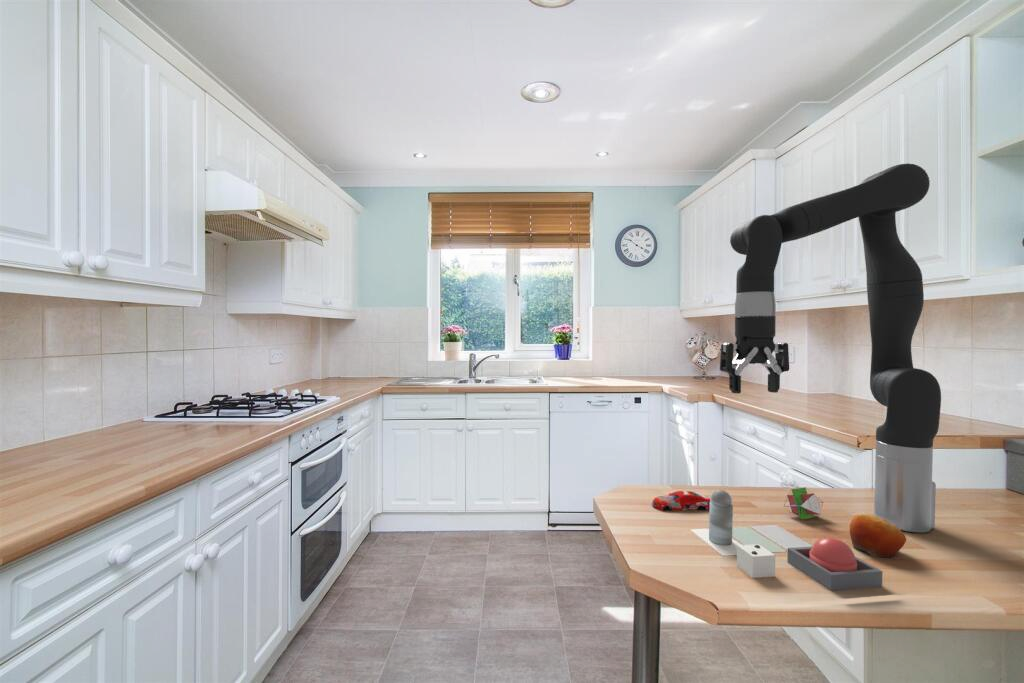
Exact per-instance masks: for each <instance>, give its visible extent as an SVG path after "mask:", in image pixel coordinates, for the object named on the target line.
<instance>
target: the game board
mask: <svg viewBox="0 0 1024 683" xmlns="http://www.w3.org/2000/svg"><path fill="white" fill-rule="evenodd" d="M690 531H691V532H692V533H693V534H695V535H696V536H697V537H699V539H701V540H702V541H703V542H705V543H706V544H707V545H709V546H710V547H711V548H713V549H714V550H715V551H716V552H718V553H719V554H720V555H721V556H723V557H725V556H737V545H751V544H759V545H761V546H762V547H764V548H765V549H767V550H768V551H770V552H771V553H773V554H775V553H786V552H787V553H788V548H797V547H812V546H813V544H810V543H808V542H806V541H805V540H803V539H801V538H799V537H798V536H796V535H795V534H793V533H791V532H789V531H787V530H785V529H784V528H782V527H780V526H779V525H777V524H771V525H770V524H769V525H766V524H765V525H752V526H732V544H731V545H728V546H724V545H718V544H715V543H712V542H711V541H710V540H709V528H695V529H693V528H692V529H690Z"/></svg>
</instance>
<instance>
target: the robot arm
mask: <svg viewBox="0 0 1024 683" xmlns="http://www.w3.org/2000/svg"><path fill="white" fill-rule="evenodd" d="M930 185H931V184H930V177H929V175H928V172H926V169H924V168H923V167H922V166H920V165H917V164H914V163H901V164H895V165H893V166H891V167H888V168H885V169H883V170H881V171H879V172H877V173H875V174H872V175H871V176H868V177H867V178H864V179H863V180H862V181H861V182H860V183H859V184H857V185H854V186H851V187H850V188H846V189H844V190H839V191H835V192H832V193H829V194H826V195H823V196H819V197H816V198H813V199H809V200H807V201H803V202H801V203H797V204H794V205H792V206H791V205H790V206H788V207H786V208H783V209H782V210H779V211H777V212H775V213H773V214H763V215H757V216H755V217H753V218H751V219H748V220H747V221H744V222H742V223H740V224H739V225H737V226H735V228H734V229H733V230H732V232H731V234H730V240H729V243H730V246H731V248H732V249H733V250H734V251H735V252H736V253H738V254H740V255H744V256H745V262H744V263H743V264H742V265H741V266H740V267H739V268H737V271H736V280H735V281H736V286H735V289H736V290H735V291H736V295H735V301H734V337H735V340H736V341H735V343H732V342H722V343H721V345H720V362H719V371H720V372H724V373H726V374H728V376H729V378H728V382H729V384H728V385H729V386H728V387H729V390H730V391H731V393H732V394H741V392H742V375H741V373H742V371H743V370H744V369H745V368H746V367H748V365H750V364H752V365H754V364H761V365H762V366H763V367H764V368H765V370H766V371H767V372H768V374H767V391H768V392H769V393H773V394H774V393H778V392H779V390H780V387H781V386H780V385H781V383H780V382H781V380H780V379H781V374H782V373H784V372H788V371H789V370H790V355H789V354H790V352H789V344H788V342H776V343H775V342H774V338H775V337H776V324H777V323H776V321H777V320H776V318H777V317H776V314H777V312H776V298H775V297H776V296H775V270H776V267H777V265H778V260H779V257H780V252H781V248H782V244H784V243H787V242H792V241H797V240H801V239H803V238H807V237H809V236H812V235H815V234H817V233H821V232H824V231H826V230H829V229H831V228H834V227H836V226H839V225H841V224H843V223H846V222H849V221H851V220H854V219H856V218H858V223H859V226H860V231H861V236H862V243H863V253H864V262H865V269H866V292H867V294H866V295H867V296H866V297H867V306H868V313H869V314H868V315H869V329H870V330H869V331H870V338H871V354H870V355H871V357H870V375H869V387H870V392H871V395H872V396H873V398H874V399H875V401H877V403H878V404H880V405H882V406H884V407H886V416H885V420H884V422H883V423H882V424H881V425H879V426H877V427H876V429H875V459H874V460H875V461H874V462H875V463H874V464H875V466H874V502H873V503H874V504H873V506H874V508H873V515H875V516H877V517H879V518H882V519H884V520H886V521H888V522H890V523H892V524H894V525H896V526H897V527H898V528H899V529H900V530H901V531H903V532H904V531H905V532H909V533H910V532H912V533H922V534H923V533H928V532H931V530H932V529H935V527H936V492H937V490H936V488H937V484H936V482H934V481H933V454H934V453H933V452H934V439H935V437H936V436H937V434H938V432H939V427H940V417H941V407H942V392H941V391H942V390H941V385H940V383H939V380H938V379H937V378H936V376H934V375H933V374H932V373H930V372H929V371H927V370H924V369H921V368H916V367H914V363H913V356H912V341H913V336H914V333H915V330H916V328H917V326H918V324H919V320H920V318H921V315H922V311H923V307H924V298H925V297H924V283H923V282H924V281H923V273H922V270H921V268H920V266H919V264H918V263H917V261H916V260H915V259H914V257H913V256H912V255H911V254H910V253H909V251H908V250H907V248H905V246H904V245H903V243H902V241H901V240H900V238H899V235H898V230H897V224H896V223H897V222H896V213H897V212H900V211H902V210H906V209H909V208H911V207H913V206H914V205H917V204H918V203H920V202H921V201H922V200H923V199H924V198H925V197H926V195H927V194H928V192H929V189H930ZM735 352H736V353H737V354H736V355H735V357H734V353H735ZM773 353H774V354H773Z"/></svg>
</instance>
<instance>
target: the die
mask: <svg viewBox="0 0 1024 683" xmlns="http://www.w3.org/2000/svg"><path fill="white" fill-rule="evenodd" d="M736 566H737V567H738V568H739V569H740V570H742V571H743V572H744V573H746V574H747V575H748V576H750V577H751V578H752V579H756V578H757V579H758V578H770V577H771V578H772V577H776V554H775V553H771V552H770V551H768V550H767V549H765V548H764V547H762V546H761V545H759V544H751V545H743V544H741V545H737V555H736Z"/></svg>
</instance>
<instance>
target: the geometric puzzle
mask: <svg viewBox="0 0 1024 683" xmlns="http://www.w3.org/2000/svg"><path fill="white" fill-rule="evenodd" d="M790 492H792V493H790ZM809 492H811V490H809V489H807V487H806V486H805V487H800V488H791V489H790V491H789V493H788V494H787V495H786V499H785V501H784V505H783V508H788V507H790V509H791V511H789V510H788V512H789V513H791V514H792V513H794V514H795V515H798V516H799V519H800V520H805V519H806V520H805V521H807V519H809V520H811V519H813V518H815V517H816V519H817V518H819V516H820V515H822V513H821V507H823V506H824V505H823V503H824V501H821V499H820V498H819V497H817V495H816V494H815V493H813V492H811V493H809ZM819 500H820V502H819ZM787 501H788V502H789V503H788V504H789V505H786V503H787ZM821 503H822V504H821Z"/></svg>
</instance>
